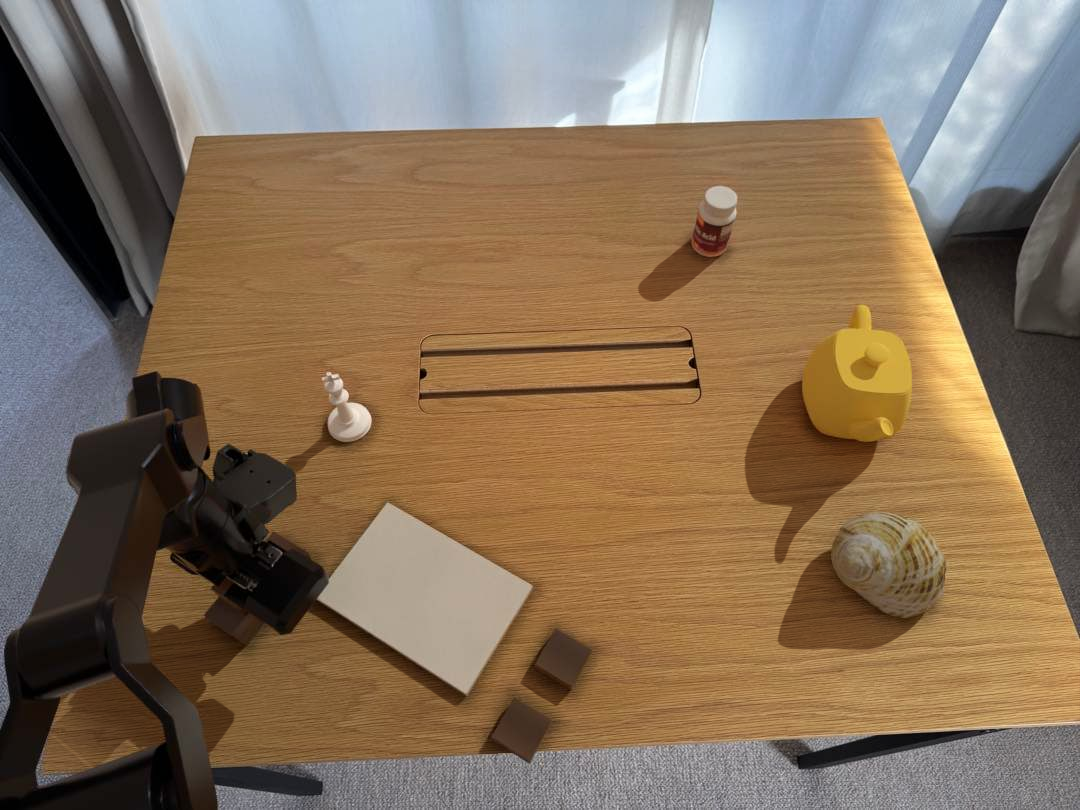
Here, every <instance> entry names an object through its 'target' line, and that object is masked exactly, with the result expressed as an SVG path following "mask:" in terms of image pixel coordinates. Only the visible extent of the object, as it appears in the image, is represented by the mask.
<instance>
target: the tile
mask: <svg viewBox="0 0 1080 810" xmlns="http://www.w3.org/2000/svg"><path fill="white" fill-rule="evenodd" d="M328 579H329V584H328V585H327V586H326V587H325V589H324V590H323V591H322V593H321V594H320V595H319V597H318V598H317V599H316V601H317V602H318V603H320V604H321V605H323V606H325V607H326V608H328V609H329V610H331V611H332V612H334V613H336V614H337V615H339V616H340V617H342V618H343V619H345V620H347V621H348V622H350V623H351V624H353V625H354V626H356V627H357V628H359V629H361V630H362V631H363V632H366V633H367V634H368V635H370V636H372V637H373V638H374V639H377V640H378V641H379V642H381V643H383V645H386V646H387V647H389V648H390V649H392V650H393V651H395V652H396V653H398V654H400V655H401V656H403V657H404V658H406V659H407V660H409V661H411V662H412V663H414V664H415V665H416V666H419V668H421V669H423V670H424V671H426V672H427V673H429V674H431V675H432V676H434V677H436V678H437V679H439V680H440V681H441V682H443V683H445V684H446V685H448V686H449V687H451V688H453V689H454V690H455V691H457V692H459V693H460V694H462V695H463V696H465V697H469V694H470V693H471V692H472V689H473V688H474V687H475V684H476V682H477V681H478V680H479V678H480V676H481V675H482V672H483V671H484V670H485V669H486V667H487V666H488V663H489V661H490V660H491V658H492V656H493V655H494V654H495V652H496V651H497V649H498V647H499V645H500V644H501V642H502V640H503V639H504V637H505V635H507V632H508V631H509V629H510V627H511V626H512V624H513V623H514V621H515V619H516V617H517V616H518V614H519V612H520V611H521V610H522V608H523V606H524V605H525V603H526V601H527V599H528V598H529V597H530V595H531V593H532V592H533V589H534V587H533V584H530V583H528V582H527V581H525V580H524V579H522V578H520V577H518V576H517V575H515V574H513V573H511V572H509V571H508V570H506V569H505V568H503V567H502V566H501V567H500V566H499V565H498V564H496V563H494V562H492V561H491V560H489V559H487V558H486V557H484V556H482V555H480V554H478V553H476V552H475V551H473V550H472V549H470V548H468V547H467V546H464V545H463V544H461V543H460V542H457V541H456V540H454V539H452V538H450V537H449V536H447V535H445V534H444V533H442V532H440V531H438V530H437V529H435V528H433V527H431V526H430V525H428V524H427V523H425V522H423V521H421V520H420V519H418V518H416V517H414V516H413V515H411V514H410V513H407V512H405V511H404V510H402V509H400V508H398V507H397V506H395V505H393V504H392V503H390V502H388V501H387V502H386V504H385V505H384V506H383V507H382V509H381V510H380V511H379V513H378V514H377V515H376V517H375V518H373V520H372V522H370V524H369V525H368V527H367V528H366V529H365V531H364V532H363V533H362V535H360V537H359V539H358V540H357V541H356V542H355V544H354V545H353V546H352V548H351V549H350V550H349V552H348V553H347V554H346V556H345V557H344V558H343V560H342V561H341V563H340V564H339V565H338V566H337V568H336V569H335V570H334V572H333V573H332V574H331V575H330V576H329V577H328Z"/></svg>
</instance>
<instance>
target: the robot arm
mask: <svg viewBox="0 0 1080 810" xmlns="http://www.w3.org/2000/svg"><path fill="white" fill-rule="evenodd" d="M131 383H132V389H131V390H129V392H128V393H127V395H126V398H125V405H126V417H127V419H124V420H121V421H118V422H114V423H111V424H107V425H103V426H101V427H97V428H94V429H90V430H87V431H83V432H80V433H78V434H76V435H75V436H74V437H73V440H72V443H71V446H70V450H69V454H68V456H67V458H66V465H65V473H64V474H65V475H66V480H67V482H68V484H69V486H70V487H71V488H73V490H74V491H75V493H76V495H77V498H76V501H75V504H74V507H73V509H72V511H71V514H70V516H69V519H68V521H67V523H66V526H65V527H64V528H65V529H64V531H63V533H62V535H61V538H60V541H59V542H58V545H57V548H56V550H55V552H54V555H53V557H52V560H51V562H50V564H49V566H48V569H47V571H46V574H45V576H44V578H43V581H42V584H41V585H40V589H39V591H38V593H37V595H36V598H35V601H34V603H33V605H32V608H31V610H30V613H29V615H28V617H27V618H26V619H25V621H24V622H22V624H21V626H20V627H18V628H15V629H12V630H11V631H10V632H9V634H8V635H7V637H6V639H5V644H4V647H3V661H4V662H3V665H4V670H5V677H6V685H7V690H8V696H9V704H8V707H7V710H6V713H5V715H4V718H3V721H2V723H1V726H0V810H219V808H218V807H219V806H218V805H219V803H218V796H217V790H216V789H217V787H216V783H215V779H214V774H213V771H212V770H213V769H212V766H211V765H212V764H211V761H210V756H209V751H208V748H207V742H206V739H205V738H206V737H205V733H204V729H203V724H202V720H201V715H200V712H199V710H198V709H197V707H196V705H195V704H194V703H193V702H192V701H191V700H190V699H189V698H188V697H187V696H186V695H185V694H184V693H183V692H181V690H180V689H179V688H178V687H177V686H176V685H175V684H174V683H173V682H171V680H170V679H168V677H166V675H164V673H162V672H161V671H160V669H158V668H157V667H156V666H155V664H154V663H153V662H152V658H151V653H150V647H149V643H148V639H147V633H146V628H145V625H144V621H143V615H144V609H145V605H146V601H147V597H148V591H149V588H150V584H151V583H150V582H151V577H152V575H153V574H152V573H153V571H154V570H153V569H154V564H155V561H156V556H157V552H158V551H161V550H164V549H166V550H167V551H169V552H170V555H169V560H170V562H172V563H173V564H175V565H176V566H178V567H179V568H181V569H182V570H184V571H185V572H187V573H188V574H189V575H191V576H192V575H193V576H199V577H201V578H203V579H204V580H205V581H207V582H209V583H210V584H212V585H215V586H217V587H218V586H219V585H220V584H221V582H222V581H223V580H224V579H225V578H226V577H227V578H228V579H230V580H231V581H233V582H234V583H233V584H232V585H231V586H230V588H229V589H228V590H227V591H226V593H225V594H224V595H223V596H224V597H226V598H227V599H229V600H230V601H232V602H233V603H235V604H236V605H238V606H239V607H241V608H242V609H244V610H246V611H247V612H248V613H250V614H251V615H252V616H254V617H255V618H256V619H258V620H259V621H261V622H262V623H264V625H265V626H267V627H268V628H270V629H271V630H272V631H274V632H276V633H277V634H278V635H280V636H285V635H288V634H291V633H292V632H293V631H294V630H295V628H296V627H297V626H298V624H299V623H300V622H301V621H302V619H303V618H304V616H306V614H307V613H308V611H309V610H310V609H311V607H312V606H313V605H314V603H315V602H316V601H317V600H316V599H317V598H318V597H319V595H320V594H321V593H322V591H323V590H324V589H325V587H326V586H327V585H328V584H329V573H328V571H326V569H325V568H324V567H323V565H320V564H319V563H317V562H315V561H314V560H313V559H312V558H311V559H312V560H311V559H309V558H307V557H306V556H304V555H303V554H301V553H299V552H298V551H296V550H295V549H291V550H289V551H286V550H285V549H283V548H281V547H280V546H278V545H277V544H275V543H273V542H272V541H270V540H269V541H268V542H265V541H266V538H267V536H268V535H269V534H271V532H270V531H269V529H268V527H266V526H265V525H266V524H268V523H270V522H272V520H274V519H275V518H276V517H277V516H279V515H280V514H281V513H283V511H284V510H286V509H287V508H288V507H291V506H292V505H293V504H295V503H296V501H297V498H298V495H297V476H296V471H295V470H294V469H293V468H291V467H289V466H288V465H287V464H285V463H283V462H281V461H279V460H277V458H274V457H272V456H271V455H269V454H268V453H263V452H257V451H255V450H253V449H252V448H251V449H248V450H247V453H245V452H244V451H243V450H241V449H239V448H238V447H236V446H234V445H232V444H230V443H227V444H226V445H224V446H223V447H221V448H220V449H219V450H217V451H216V454H215V458H214V461H213V465H212V477H213V480H212V478H210V476H209V475H208V474H207V473H206V472H205V470H204V469H203V468H202V467H203V464H204V461H207V460H209V459H210V457H211V452H212V451H211V444H210V439H209V431H208V425H207V419H206V413H205V406H204V400H203V399H204V398H203V393H202V390H201V388H200V386H199V385H198V384H197V383H193V382H191V381H189V380H186V379H183V378H178V377H162V375H161V374H160V372H158V370H155V371H151V372H147V373H144V374H141V375H137V376H133V377H132V378H131ZM255 542H257V543H256V544H254V543H255ZM251 554H253V555H254V556H253V555H251ZM114 678H117V679H118V680H119V681H120V682H121V683H122V684H123V685H124V686H125V687H126V688H127V689H128V690H129V691H130V692H131V693H132V694H133V695H134V696H135V697H136V698H137V699H138V700H140V702H141V703H142V704H143V705H144V706H145V707H146V708H147V709H148V710H149V711H150V712H151V713H152V714H153V715H154V716H155V717H156V718H157V719H158V720H159V721H160V722H161V725H162V730H163V735H164V741H162V742H160V743H157V744H154V745H151V746H148V747H146V748H143V749H139V750H138V751H135V752H132V753H129V754H127V755H124V756H120V757H118V758H115V759H113V760H110V761H107V762H105V763H102V764H99V765H96V766H94V767H91V768H88V769H85V770H83V771H80V772H77V773H75V774H71V775H69V776H65V777H64V778H61V779H57V780H55V781H52V782H50V783H47V784H44V785H42V786H39V784H38V778H37V768H38V765H39V762H40V759H41V757H42V754H43V751H44V748H45V745H46V742H47V740H48V737H49V734H50V732H51V728H52V725H53V723H54V720H55V717H56V714H57V712H58V709H59V706H60V703H61V697H62V696H65V695H68V694H71V693H74V692H76V691H79V690H83V689H85V688H88V687H91V686H94V685H97V684H99V683H103V682H105V681H109V680H112V679H114Z"/></svg>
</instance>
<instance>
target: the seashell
mask: <svg viewBox="0 0 1080 810" xmlns="http://www.w3.org/2000/svg"><path fill="white" fill-rule="evenodd" d="M830 553H831V555H830V556H831V563H832V567H833V570H834V572H835V573H836V576H837V577H838V578H839V579H840V581H841V582H842V583H843V584H844V585H845V586H847V587H848V588H850V589H851V590H854V591H855V592H856V593H857V594H858V595H859V596H860V597H862V598H863V599H864V600H866V601H867V602H868V603H869V604H871V605H872V606H873V607H875V608H877V609H878V610H879V611H881V612H883V613H884V614H887V615H888V616H889V615H890V616H892V617H895V618H900V619H906V618H913V617H916V616H919V615H920V614H922V613H925V611H927V610H929V609H931V608H932V607H933V606H934V605H935V604H936V603H937V602H938V601H939V600H940V598H941V597H942V596H943V594H944V591H945V585H946V584H945V583H946V572H947V561H946V558H945V555H944V554H943V553H942V551H941V548H940V546H939V544H938V543H937V541H936V539H935V538H934V537H933V535H932V534H931V533H930V532H929V531H928V530H927V529H926V528H925V527H924V526H923V525H922V524H921V523H920V522H918V521H916V520H911V519H909V518H907V517H905V516H903V515H900V514H897V513H894V512H888V511H870V512H865V513H863V514H860V515H857V516H855V517H853V518H852V519H850V520H848V521H847V522H846V523H844V524H843V525H842V526H841V527H840V528H839V530H838V533H837V534H836V536H835V537H834V539H833V542H832V544H831V551H830Z"/></svg>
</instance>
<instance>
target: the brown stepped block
mask: <svg viewBox="0 0 1080 810" xmlns="http://www.w3.org/2000/svg"><path fill="white" fill-rule="evenodd" d="M269 540H270V541H272V542H273V543H275V544H277V545H278V546H280V547H281V548H283V549H285V550H286V551H289V550H291V549H295V550H296V551H298V552H299V553H301V554H303V555H304V556H306V557H307V558H309V559H311V560H312V561H313V559H312V558H311V555H310V554H309V552H308V551H307V550H305V549H303V548H302V547H300V546H298V545H297V544H296V543H294V542H292V541H291V540H289V539H288V538H286V537H285V536H283V535H282V534H279V533H278V532H276V531H274V530H272V531H271V532H270V535H269V536H268V537H266V538H265V540H264V541H265V542H268V541H269ZM256 543H257V542H255V543H254V544H256ZM251 555H253V554H251ZM253 556H254V555H253ZM233 583H234V582H233V581H231V580H230V579H228V578H227V577H226V578H225V579H224V580H223V581H222V582H221V584H220V585H219V586H218V587H217V586H215V585H214V584H212V586H211V588H210V590H211V591H212V592H214V594H215V595H216V596H217V598H216V600H215V601H214V602H213V603H212V604H211V605H210V607H209V608H208V609H207V610H206V612H205V613H204V614H203V617H205V618H206V619H207V620H209V621H210V622H211V623H213V624H214V625H215V626H216V627H218V628H219V629H220V630H222V631H224V632H225V633H227V634H228V635H229V636H231V638H232V637H233V638H234V639H235V640H237V641H238V642H239V643H241V644H243V645H244V646H245V647H247V646H248V645H249V644H250V643H251V642H252V640H253V639H254V638H255V636H256V635H257V634H258V632H259V631H260V630H261V628H262V627H263V626H264V625H265V624H264V623H262V622H261V621H259V620H258V619H256V618H255V617H254V616H252V615H251V614H250V613H248V612H247V611H246V610H244V609H242V608H241V607H239V606H238V605H236V604H235V603H233V602H232V601H230V600H229V599H227V598H226V597H224V596H223V595H224V594H225V593H226V591H227V590H228V589H229V588H230V586H231V585H232V584H233Z"/></svg>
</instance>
